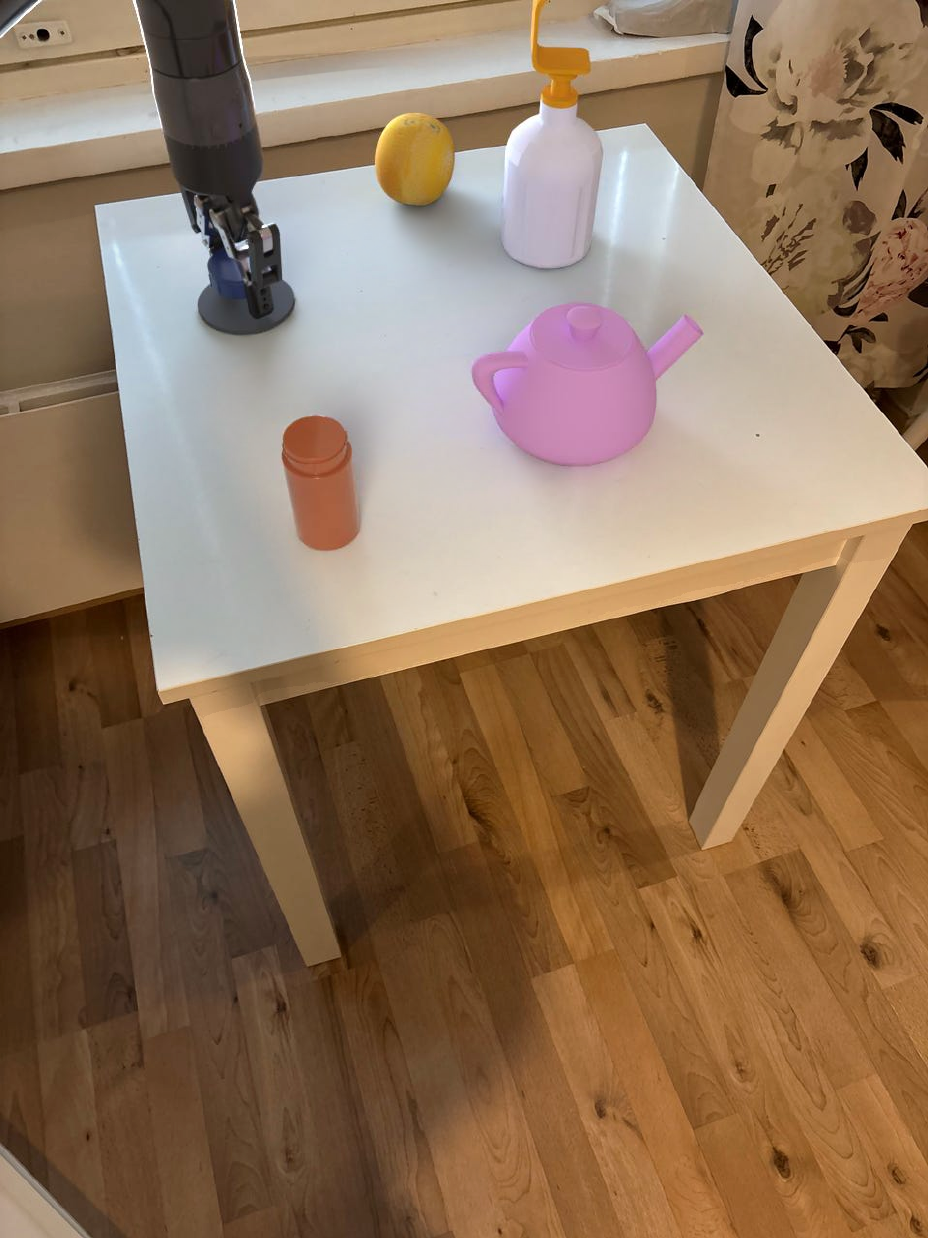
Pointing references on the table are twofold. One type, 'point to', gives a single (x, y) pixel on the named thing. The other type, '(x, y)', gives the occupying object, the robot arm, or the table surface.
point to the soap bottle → (552, 167)
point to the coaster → (244, 311)
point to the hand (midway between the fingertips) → (244, 296)
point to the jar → (321, 482)
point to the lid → (226, 274)
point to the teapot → (578, 383)
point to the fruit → (414, 159)
